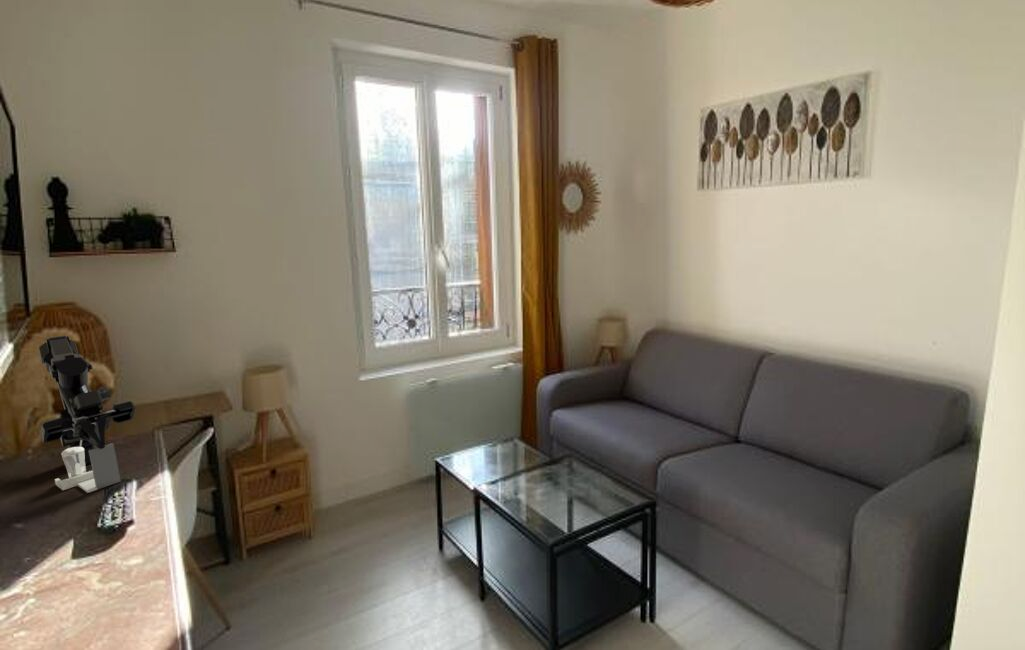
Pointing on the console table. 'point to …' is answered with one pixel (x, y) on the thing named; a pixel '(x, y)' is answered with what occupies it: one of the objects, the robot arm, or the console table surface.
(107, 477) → the white bracket
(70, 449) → the milkshake
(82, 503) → the console table surface
